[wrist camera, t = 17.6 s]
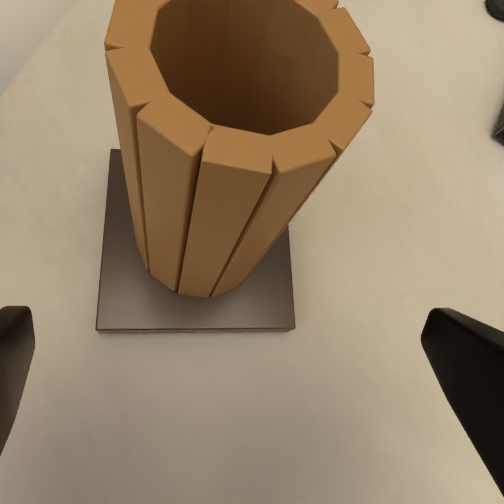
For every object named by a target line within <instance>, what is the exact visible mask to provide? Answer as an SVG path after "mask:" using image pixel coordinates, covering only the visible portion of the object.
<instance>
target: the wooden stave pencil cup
mask: <svg viewBox="0 0 504 504" xmlns="http://www.w3.org/2000/svg"><path fill="white" fill-rule="evenodd" d="M338 2H339V1H338V0H116V1H115V5H114V8H113V12H112V16H111V19H110V23H109V27H108V31H107V34H106V38H105V42H104V45H105V51H106V52H105V57H106V63H107V69H108V75H109V81H110V87H111V93H112V99H113V105H114V111H115V117H116V123H117V130H118V136H119V142H120V148H121V154H122V160H123V166H124V172H125V178H126V184H127V190H128V196H129V202H130V208H131V214H132V220H133V226H134V232H135V238H136V245H137V247H138V250H139V252H140V255H141V257H142V260H143V262H144V265H145V267H146V270H147V271H149V270H150V275H151V276H153V277H154V278H155V279H157V280H158V281H159V282H161V283H162V284H163V285H165V286H166V287H167V288H169V289H170V290H171V291H173V292H175V291H176V290H177V288H178V287H179V289H178V294H180V295H187V296H195V297H203V298H208V297H209V295H210V294H211V296H212V297H215V296H217V295H220V294H222V293H224V292H227V291H229V290H232V289H234V288H237V287H238V286H239V285H240V284H243V282H244V281H245V280H246V278H247V277H248V276H249V275H250V273H251V272H252V271H253V269H254V268H255V267H256V265H257V264H258V263H259V262H260V260H261V259H262V258H263V256H264V255H265V254H266V252H267V251H268V250H269V248H270V247H271V246H272V245H273V243H274V242H275V241H276V239H277V238H278V237H279V235H280V234H281V233H282V231H283V230H284V229H285V228H286V226H287V225H288V224H289V222H290V221H291V220H292V218H293V217H294V216H295V214H296V213H297V212H298V211H299V209H300V208H301V207H302V205H303V204H304V203H305V201H306V200H307V199H308V198H309V196H310V195H311V194H312V192H313V191H314V190H315V188H316V187H317V186H318V184H319V183H320V182H321V181H322V179H323V178H324V177H325V175H326V174H327V173H328V171H329V170H330V169H331V167H332V166H333V165H334V164H335V162H336V161H337V160H338V158H339V157H340V156H341V154H342V153H343V152H344V151H345V149H346V148H347V146H348V145H349V144H350V142H351V141H352V140H353V138H354V137H355V136H356V134H357V133H358V131H359V130H360V129H361V127H362V126H363V125H364V123H365V122H366V121H367V119H368V118H369V116H370V115H371V114H372V110H371V108H372V107H373V105H374V64H373V58H372V57H369V56H368V55H369V53H370V51H371V50H370V47H369V46H368V44H367V43H366V41H365V39H364V38H363V36H362V34H361V33H360V31H359V29H358V28H357V26H356V25H355V23H354V21H353V20H352V18H351V16H350V15H349V13H348V11H347V10H346V8H344V7H342V8H337V6H338ZM336 8H337V9H336Z"/></svg>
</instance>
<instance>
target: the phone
mask: <svg viewBox="0 0 504 504" xmlns="http://www.w3.org/2000/svg"><path fill="white" fill-rule="evenodd" d="M487 5H488V8H489V10H490V12H491V13H492V14H493V15H495V16H496V17H498V18H501V19H503V20H504V0H487Z"/></svg>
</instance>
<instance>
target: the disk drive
mask: <svg viewBox="0 0 504 504" xmlns="http://www.w3.org/2000/svg"><path fill="white" fill-rule="evenodd" d="M494 134H495V136H497V137H499V138H500V140H501V141H502V142H503V143H504V106H503V109H502V111H501V114H500V117H499V119H498V122H497V124H496V127H495V131H494Z"/></svg>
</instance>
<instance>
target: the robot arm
mask: <svg viewBox="0 0 504 504" xmlns="http://www.w3.org/2000/svg"><path fill="white" fill-rule="evenodd" d="M421 344H422V347H423V349H424V351H425V353H426V355H427V358H428V360H429V362H430V364H431V366H432V368H433V371H434V373H435V375H436V377H437V379H438V381H439V384H440V386H441V388H442V390H443V392H444V394H445V396H446V398H447V400H448V402H449V404H450V406H451V407H452V409H453V411H454V413H455V414H456V416H457V418H458V419H459V421H460V423H461V425H462V426H463V428H464V430H465V431H466V433H467V435H468V437H469V438H470V440H471V442H472V443H473V445H474V447H475V449H476V450H477V452H478V454H479V455H480V457H481V459H482V461H483V462H484V464H485V466H486V467H487V469H488V471H489V473H490V474H491V476H492V478H493V480H494V481H495V483H496V485H497V486H498V488H499V490H500V492H501V493H502V495H503V497H504V332H502V331H500V330H498V329H496V328H493V327H491V326H489V325H487V324H484V323H482V322H480V321H478V320H475V319H473V318H471V317H469V316H466V315H464V314H462V313H460V312H457V311H455V310H453V309H450V308H434V309H432V310H431V311H430V313H429V315H428V318H427V320H426V323H425V326H424V328H423V331H422V334H421ZM34 349H35V336H34V328H33V320H32V313H31V310H30V308H29V307H27V306H5V307H3V308H2V309H0V456H1V453H2V451H3V448H4V446H5V444H6V441H7V439H8V436H9V434H10V431H11V429H12V426H13V424H14V421H15V418H16V414H17V411H18V408H19V404H20V400H21V397H22V393H23V390H24V386H25V382H26V379H27V375H28V372H29V368H30V364H31V361H32V357H33V354H34Z"/></svg>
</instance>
